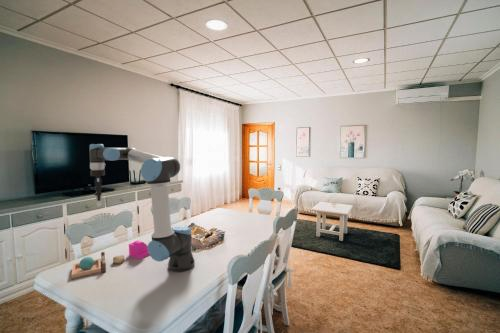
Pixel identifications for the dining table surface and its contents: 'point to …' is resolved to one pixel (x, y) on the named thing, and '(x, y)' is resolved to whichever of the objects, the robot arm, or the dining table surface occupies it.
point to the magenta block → (138, 249)
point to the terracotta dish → (78, 272)
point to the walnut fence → (103, 262)
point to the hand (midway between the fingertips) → (98, 203)
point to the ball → (86, 263)
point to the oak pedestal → (118, 259)
